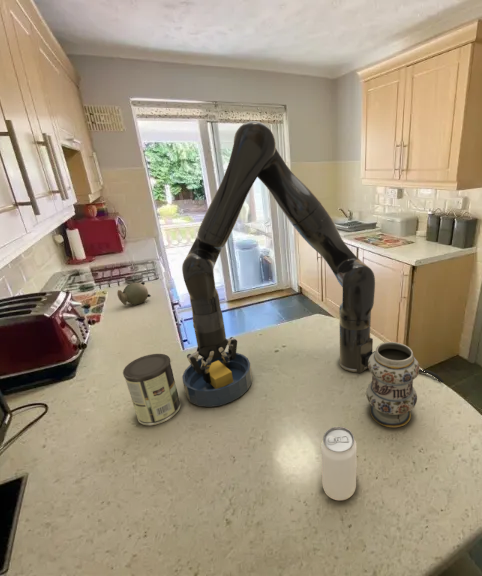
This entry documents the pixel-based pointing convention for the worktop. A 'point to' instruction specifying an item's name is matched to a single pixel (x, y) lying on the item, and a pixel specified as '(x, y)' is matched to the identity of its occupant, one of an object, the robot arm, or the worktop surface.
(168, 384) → the coffee can
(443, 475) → the worktop surface
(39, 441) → the worktop surface
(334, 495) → the can
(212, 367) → the sponge
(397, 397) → the apothecary jar
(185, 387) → the bowl
